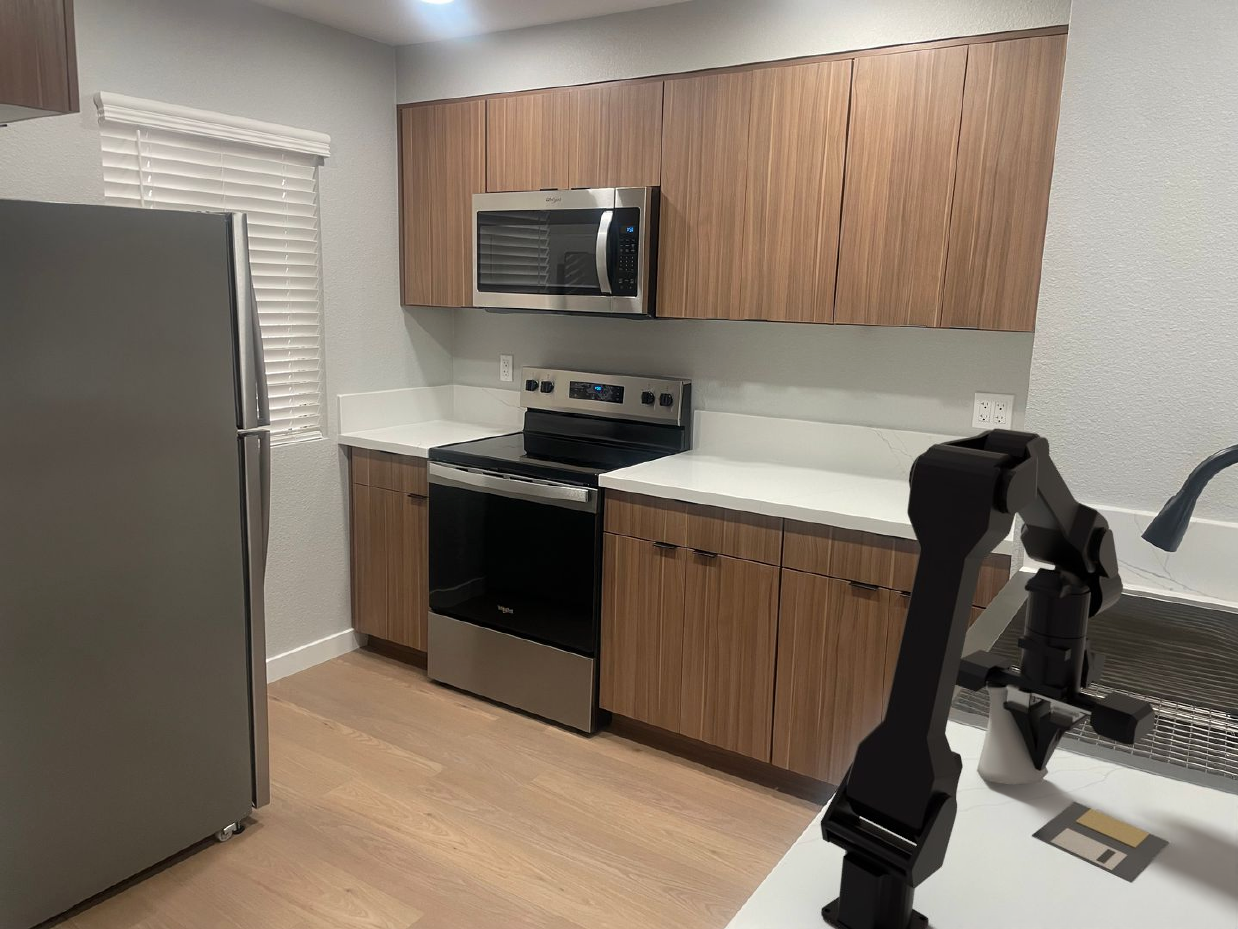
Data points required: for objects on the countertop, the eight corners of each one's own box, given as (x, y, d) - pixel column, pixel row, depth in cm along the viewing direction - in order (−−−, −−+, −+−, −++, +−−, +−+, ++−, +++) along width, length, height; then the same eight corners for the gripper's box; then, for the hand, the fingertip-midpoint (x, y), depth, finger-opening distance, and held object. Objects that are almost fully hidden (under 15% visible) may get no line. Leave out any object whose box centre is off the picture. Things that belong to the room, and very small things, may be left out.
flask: (1049, 788, 94) (1037, 693, 94) (975, 786, 97) (963, 694, 97) (1047, 762, 101) (1036, 673, 101) (978, 761, 104) (967, 675, 104)
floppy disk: (1130, 881, 82) (1130, 879, 82) (1031, 835, 89) (1032, 834, 89) (1169, 842, 89) (1169, 840, 89) (1074, 802, 95) (1074, 800, 95)
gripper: (1184, 637, 92) (1164, 780, 94) (1005, 591, 106) (993, 717, 108) (1141, 664, 85) (1122, 817, 87) (955, 611, 98) (943, 744, 101)
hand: (1040, 769), depth 96 cm, fingers closed
